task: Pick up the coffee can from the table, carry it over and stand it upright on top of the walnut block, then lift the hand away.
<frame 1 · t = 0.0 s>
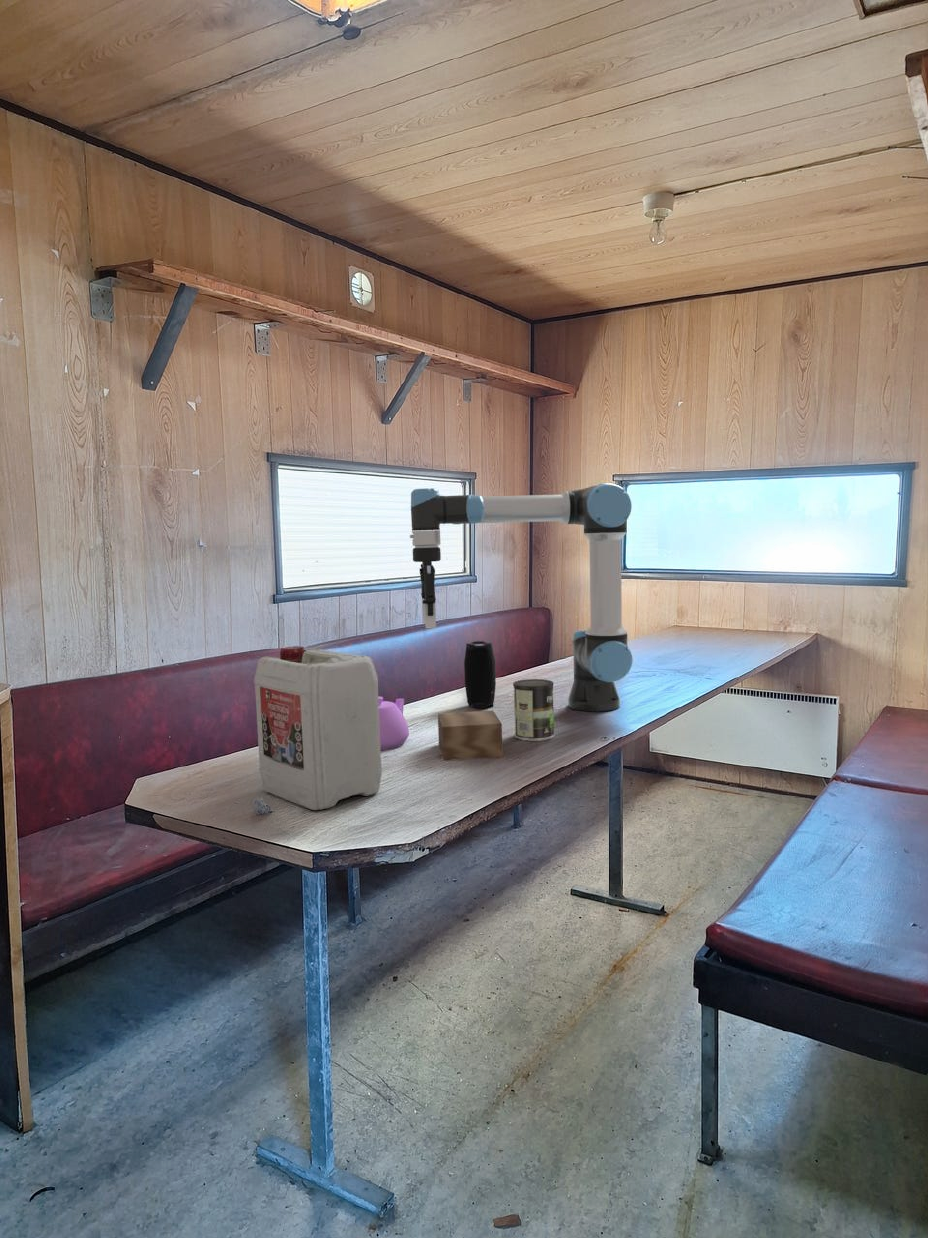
hand: (429, 625, 218), 28 cm above the table, tool pointing down, fingers open, 13 cm apart
jerry can: (321, 793, 167), on the table
portable speaker: (480, 707, 244), on the table
coffee can: (534, 737, 207), on the table
teapot: (378, 744, 205), on the table
walnut block: (469, 750, 196), on the table
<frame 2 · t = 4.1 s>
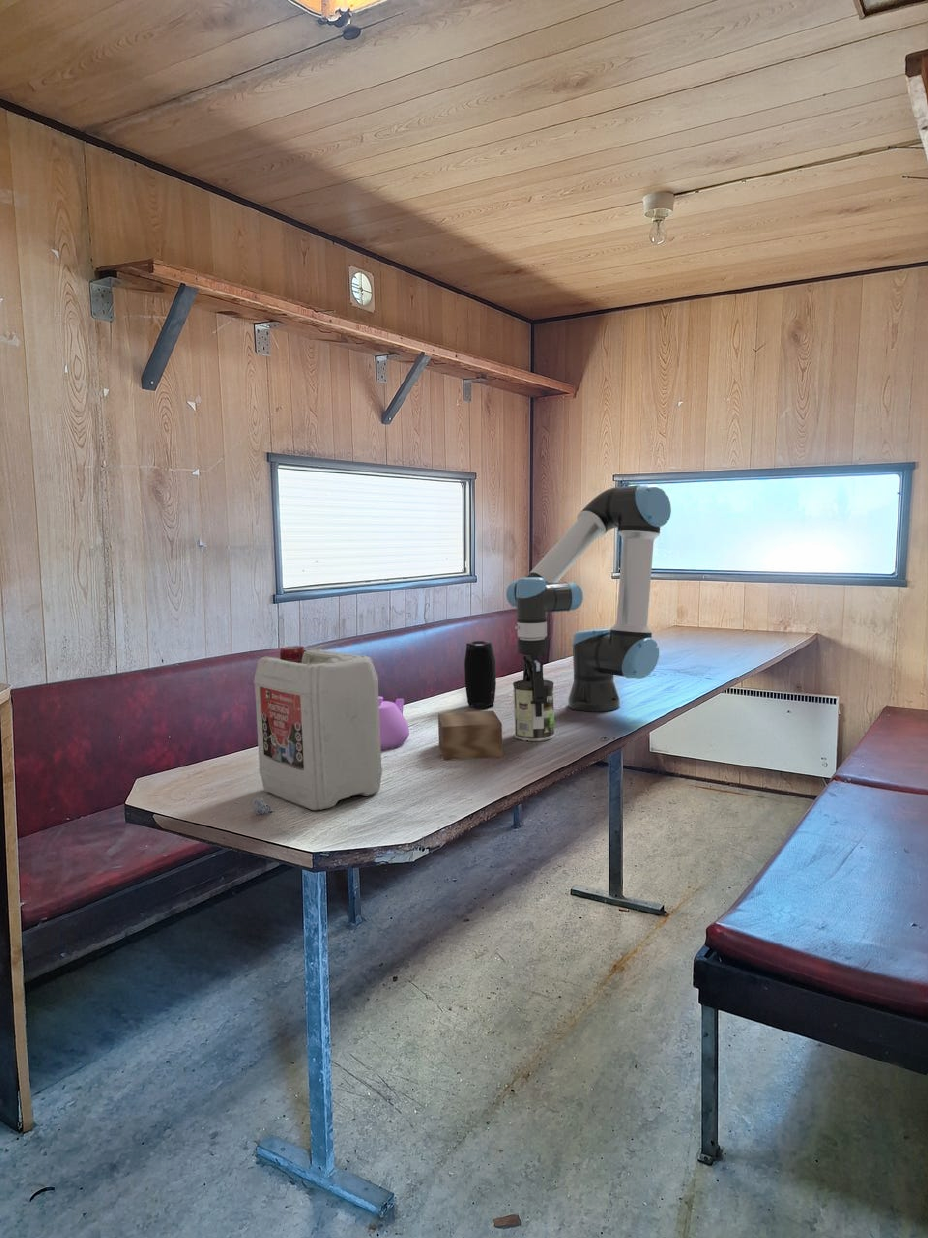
hand: (534, 723, 207), 3 cm above the table, tool pointing down, fingers closed on coffee can, 10 cm apart
coffee can: (534, 736, 207), on the table, touching gripper
everything else where it was.
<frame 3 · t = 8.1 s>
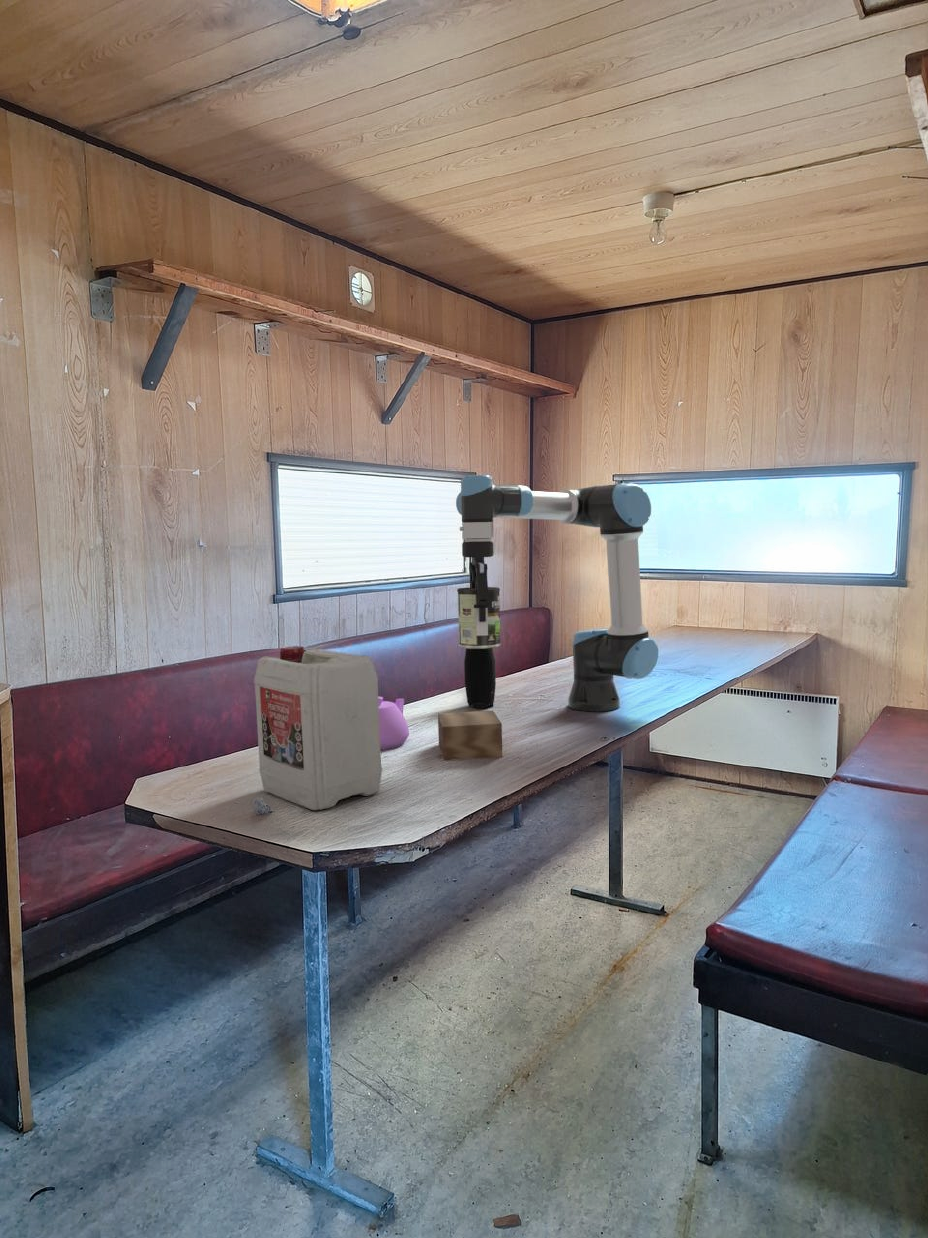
hand: (479, 632, 195), 29 cm above the table, tool pointing down, fingers closed on coffee can, 10 cm apart
coffee can: (479, 646, 195), point 25 cm above the table, touching gripper
everything else where it was.
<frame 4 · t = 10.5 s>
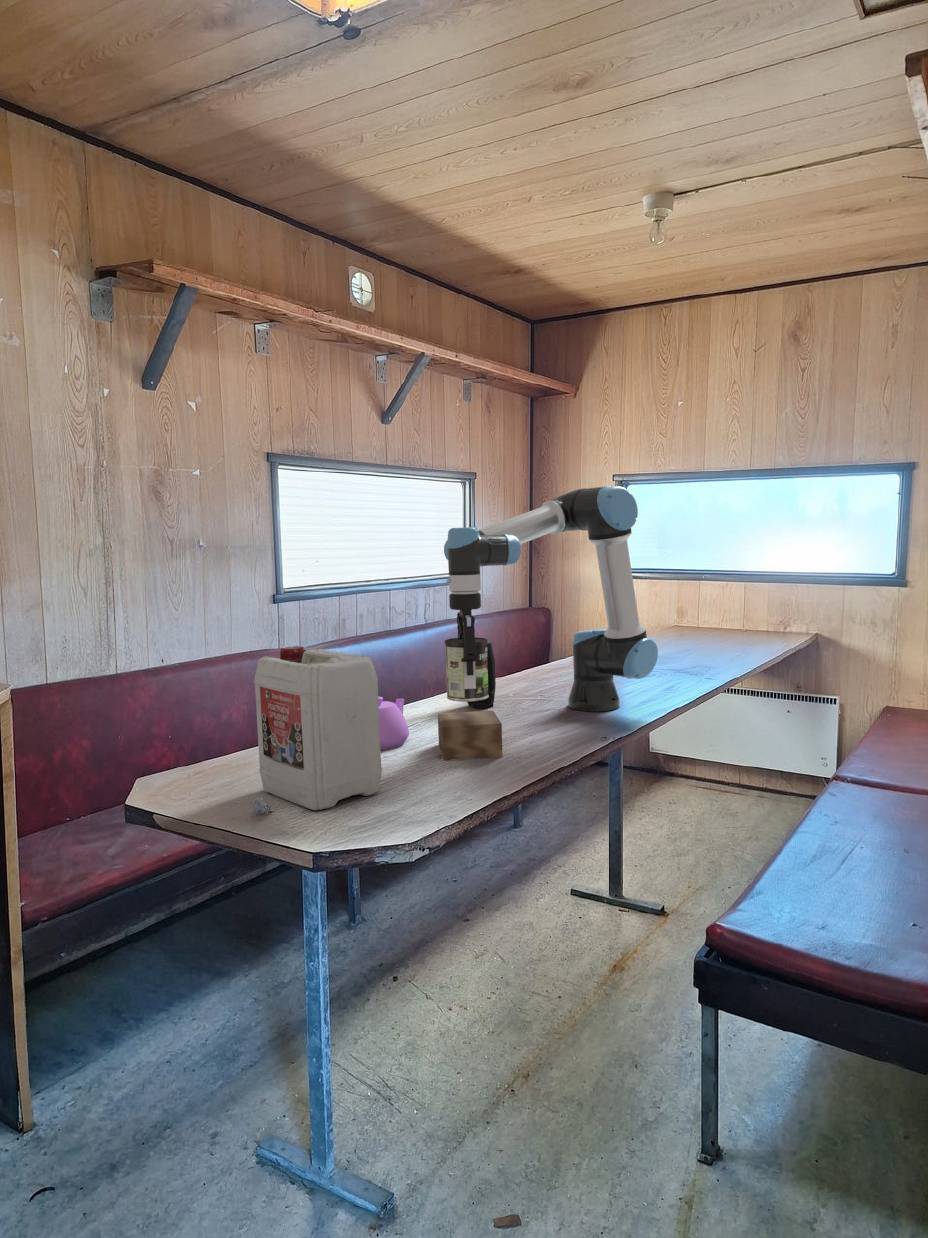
hand: (467, 684, 194), 16 cm above the table, tool pointing down, fingers closed on coffee can, 10 cm apart
coffee can: (467, 698, 194), point 13 cm above the table, touching gripper
everything else where it was.
when the fingers open (13 cm above the table, at t = 12.3 s): coffee can drops 1 cm, resting on walnut block.
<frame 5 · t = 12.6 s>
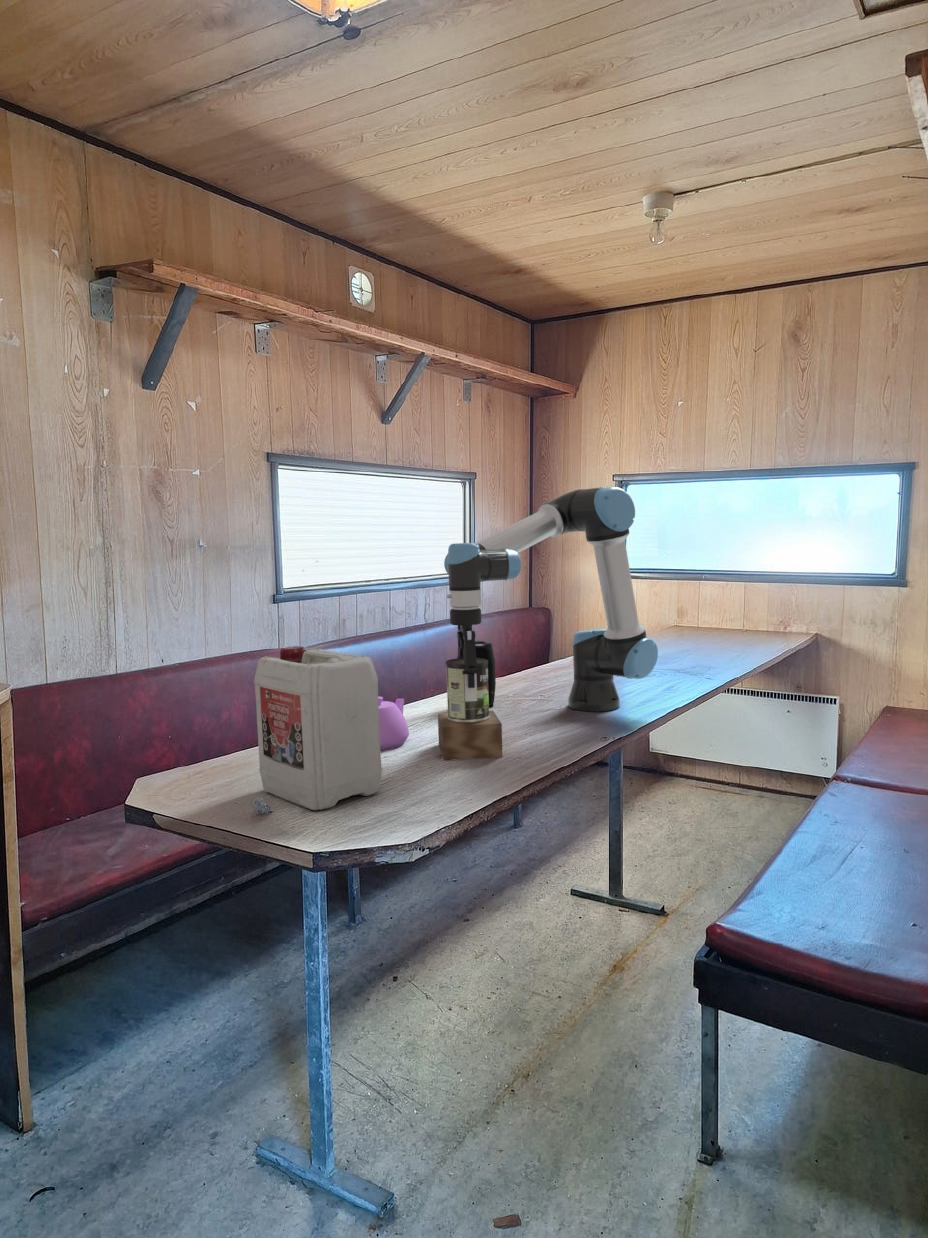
hand: (468, 695, 194), 14 cm above the table, tool pointing down, fingers open, 13 cm apart
coffee can: (468, 718, 195), point 8 cm above the table, touching walnut block
everything else where it was.
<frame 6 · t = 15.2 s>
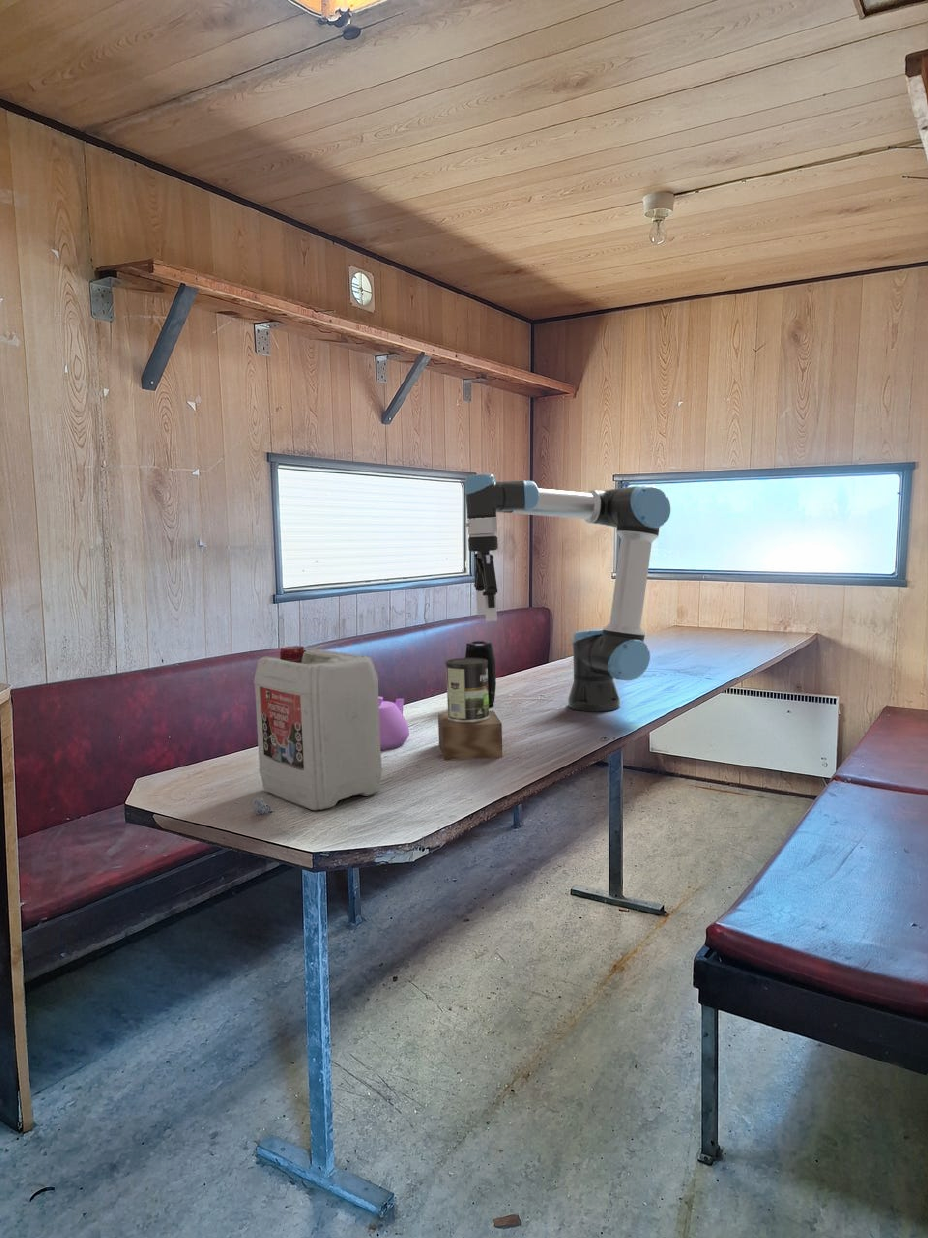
hand: (486, 617, 208), 31 cm above the table, tool pointing down, fingers open, 13 cm apart
nothing on the table moved.
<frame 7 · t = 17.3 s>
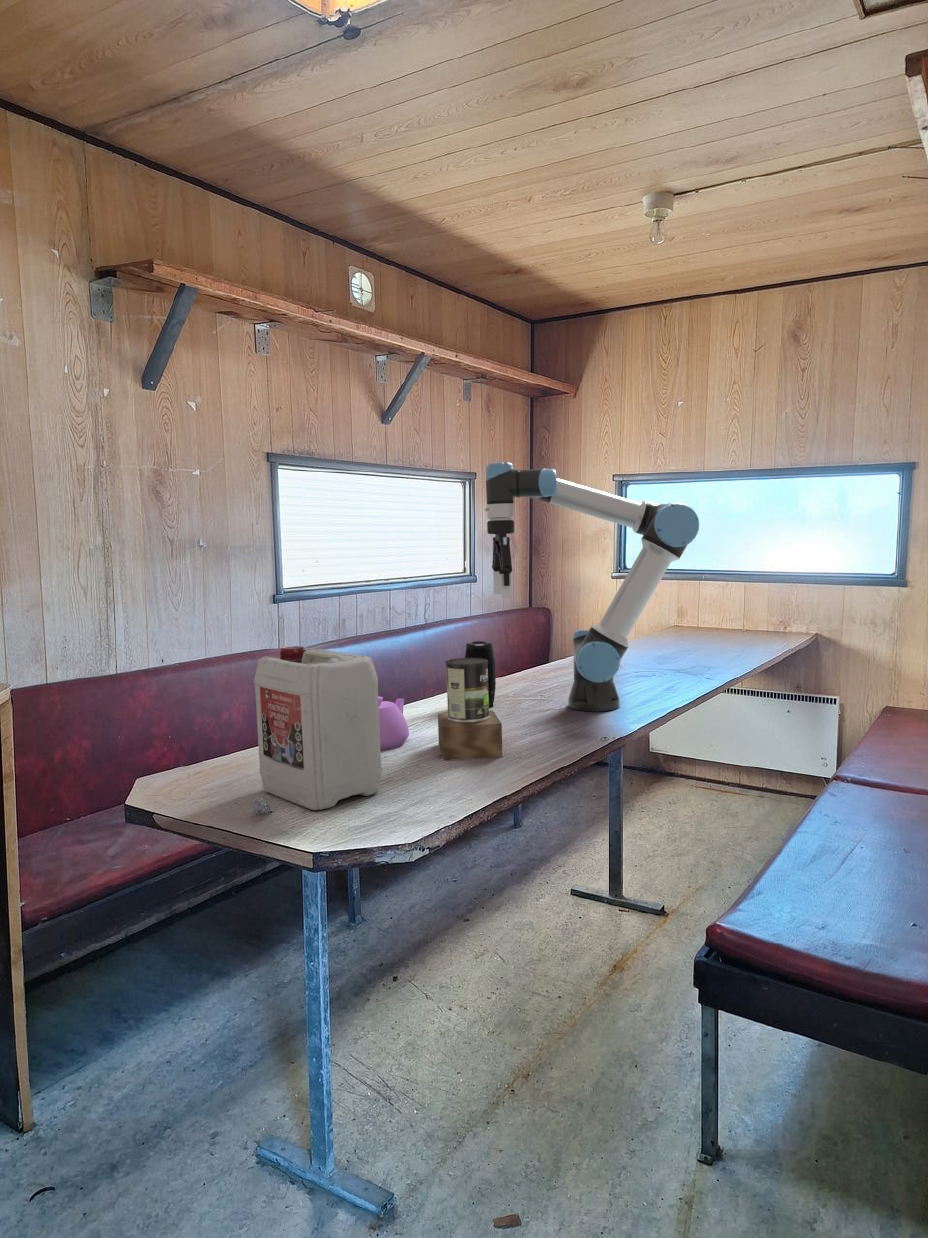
hand: (502, 596, 225), 35 cm above the table, tool pointing down, fingers open, 13 cm apart
nothing on the table moved.
at the end: coffee can 0.4 cm off-centre on the walnut block, point 7.8 cm above the walnut block's base; coffee can tilted 0°; the gripper is holding nothing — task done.
